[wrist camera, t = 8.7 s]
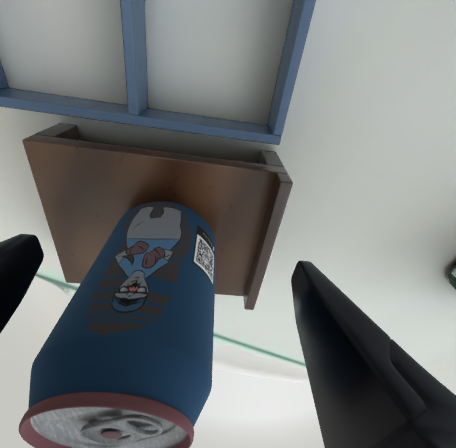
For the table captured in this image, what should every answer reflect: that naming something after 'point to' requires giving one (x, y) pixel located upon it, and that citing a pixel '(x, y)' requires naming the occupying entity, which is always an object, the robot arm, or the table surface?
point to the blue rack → (143, 116)
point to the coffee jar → (452, 277)
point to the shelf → (153, 192)
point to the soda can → (131, 340)
